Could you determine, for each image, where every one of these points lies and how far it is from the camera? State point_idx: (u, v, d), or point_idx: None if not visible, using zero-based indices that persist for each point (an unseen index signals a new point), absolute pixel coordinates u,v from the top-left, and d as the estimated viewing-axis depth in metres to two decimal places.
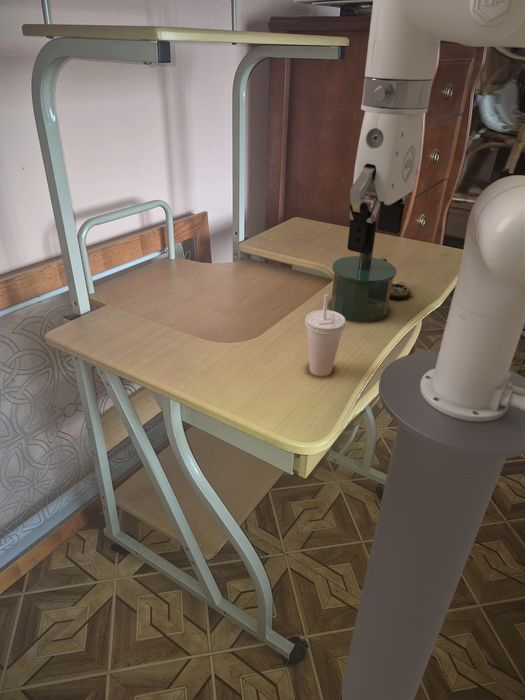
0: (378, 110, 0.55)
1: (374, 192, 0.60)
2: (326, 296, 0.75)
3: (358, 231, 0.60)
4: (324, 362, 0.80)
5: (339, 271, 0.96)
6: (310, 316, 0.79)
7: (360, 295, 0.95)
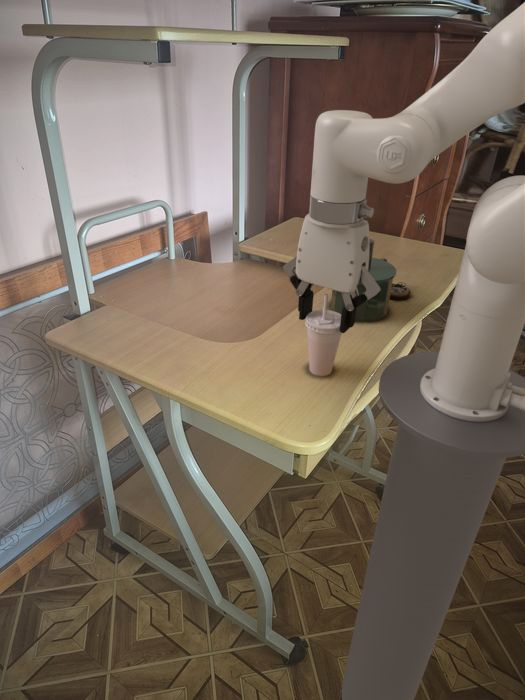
0: (359, 223, 0.68)
1: None
2: (326, 296, 0.75)
3: (353, 315, 0.75)
4: (324, 362, 0.80)
5: None
6: (310, 316, 0.79)
7: None
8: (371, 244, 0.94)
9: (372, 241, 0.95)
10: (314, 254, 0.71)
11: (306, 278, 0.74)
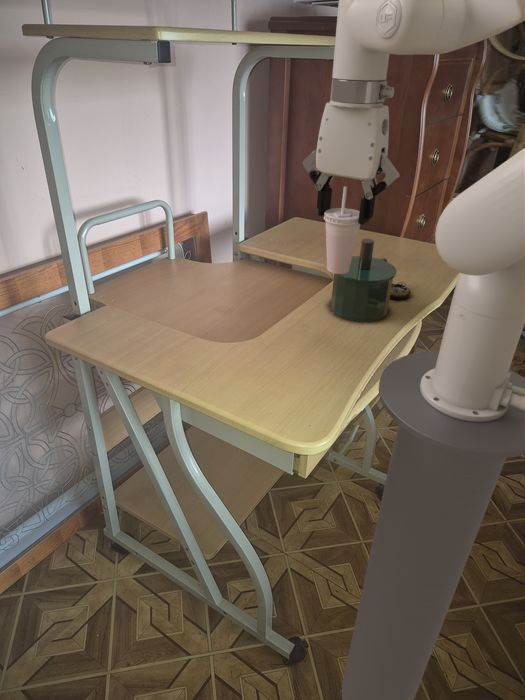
0: (379, 105, 0.70)
1: None
2: (345, 188, 0.77)
3: (371, 206, 0.77)
4: (343, 258, 0.82)
5: None
6: (329, 212, 0.81)
7: (360, 295, 0.95)
8: (371, 244, 0.94)
9: (372, 241, 0.95)
10: (335, 141, 0.73)
11: (326, 169, 0.76)
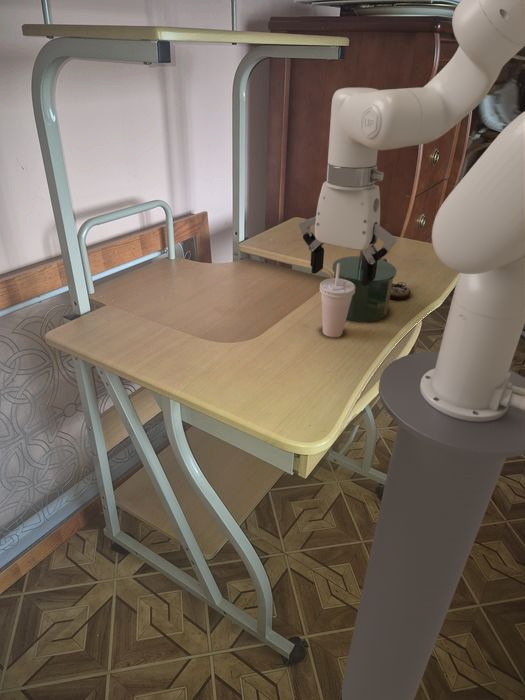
0: (370, 187, 0.77)
1: None
2: (338, 264, 0.86)
3: (374, 269, 0.83)
4: (336, 324, 0.91)
5: None
6: (324, 283, 0.89)
7: (360, 295, 0.95)
8: None
9: None
10: (331, 216, 0.81)
11: (324, 239, 0.84)
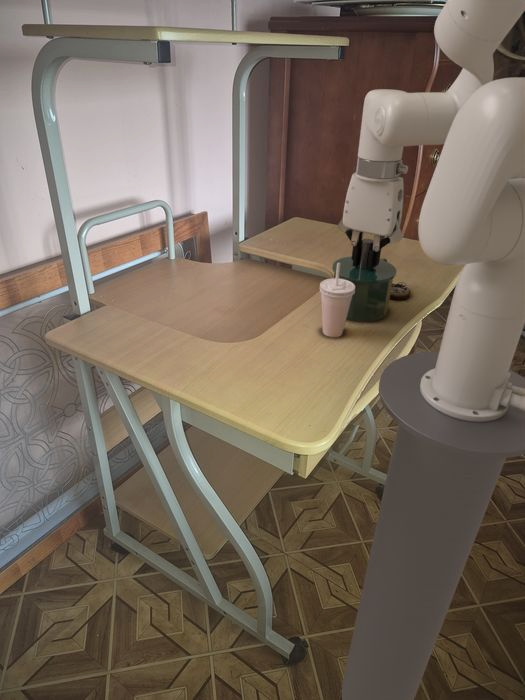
0: (396, 178, 0.87)
1: None
2: (338, 264, 0.86)
3: (378, 255, 0.95)
4: (336, 324, 0.91)
5: None
6: (324, 283, 0.89)
7: (360, 295, 0.95)
8: (371, 244, 0.94)
9: (372, 241, 0.95)
10: (359, 205, 0.90)
11: (351, 225, 0.93)
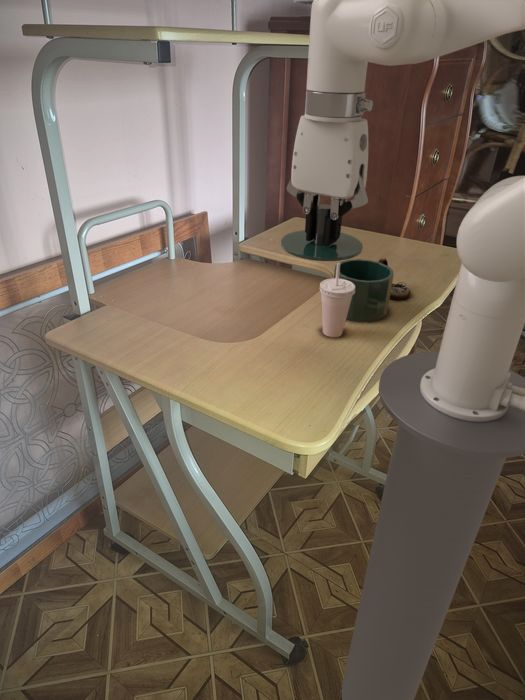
0: (357, 119, 0.64)
1: None
2: (338, 264, 0.86)
3: (338, 226, 0.73)
4: (336, 324, 0.91)
5: (287, 247, 0.74)
6: (324, 283, 0.89)
7: (360, 295, 0.95)
8: (328, 210, 0.72)
9: (330, 207, 0.72)
10: (310, 157, 0.68)
11: (302, 186, 0.71)
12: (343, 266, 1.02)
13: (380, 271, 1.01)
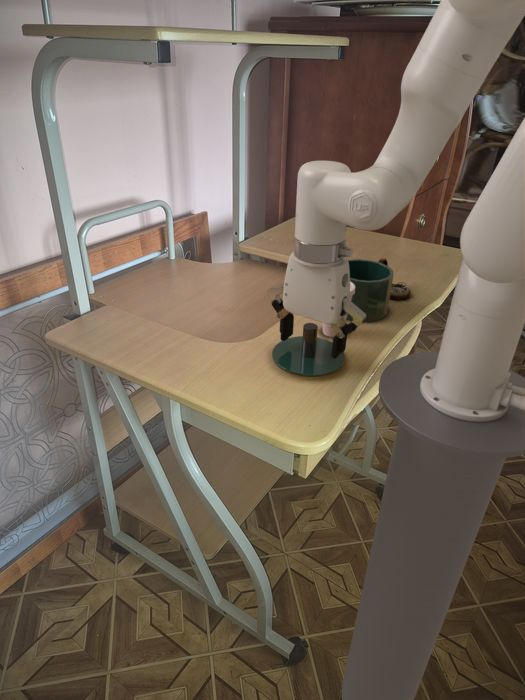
0: (339, 262, 0.74)
1: None
2: None
3: (343, 342, 0.80)
4: None
5: (278, 361, 0.83)
6: None
7: (360, 295, 0.95)
8: (314, 331, 0.82)
9: (315, 327, 0.82)
10: (299, 289, 0.77)
11: (292, 310, 0.80)
12: None
13: (380, 271, 1.01)
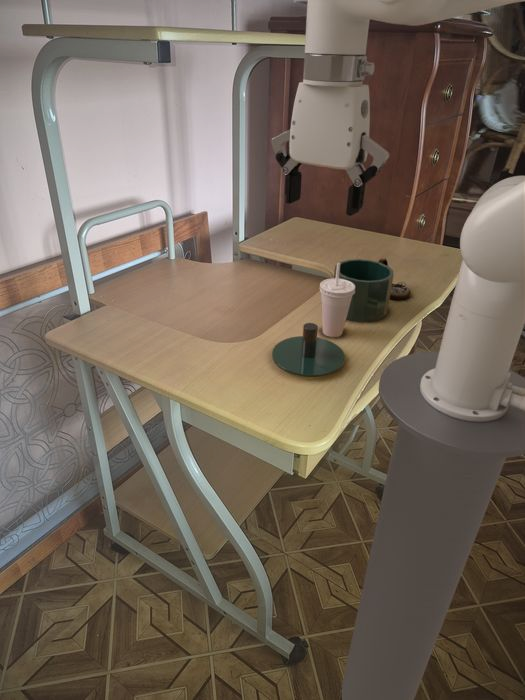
0: (358, 83, 0.61)
1: None
2: (338, 264, 0.86)
3: (361, 194, 0.68)
4: (336, 324, 0.91)
5: (278, 361, 0.83)
6: (324, 283, 0.89)
7: (360, 295, 0.95)
8: (314, 331, 0.82)
9: (315, 327, 0.82)
10: (309, 125, 0.65)
11: (300, 157, 0.68)
12: (343, 266, 1.02)
13: (380, 271, 1.01)
